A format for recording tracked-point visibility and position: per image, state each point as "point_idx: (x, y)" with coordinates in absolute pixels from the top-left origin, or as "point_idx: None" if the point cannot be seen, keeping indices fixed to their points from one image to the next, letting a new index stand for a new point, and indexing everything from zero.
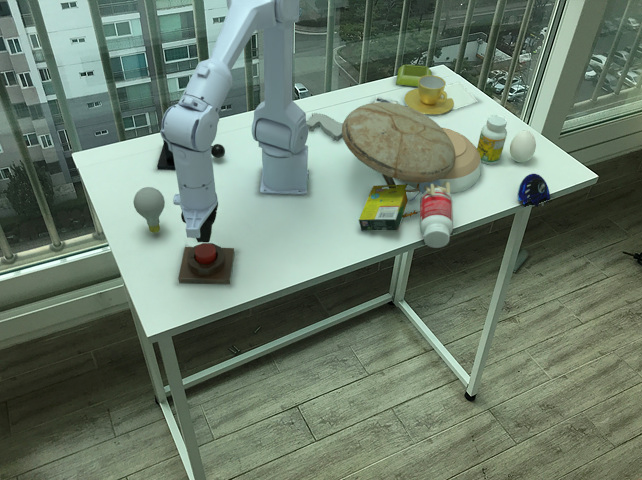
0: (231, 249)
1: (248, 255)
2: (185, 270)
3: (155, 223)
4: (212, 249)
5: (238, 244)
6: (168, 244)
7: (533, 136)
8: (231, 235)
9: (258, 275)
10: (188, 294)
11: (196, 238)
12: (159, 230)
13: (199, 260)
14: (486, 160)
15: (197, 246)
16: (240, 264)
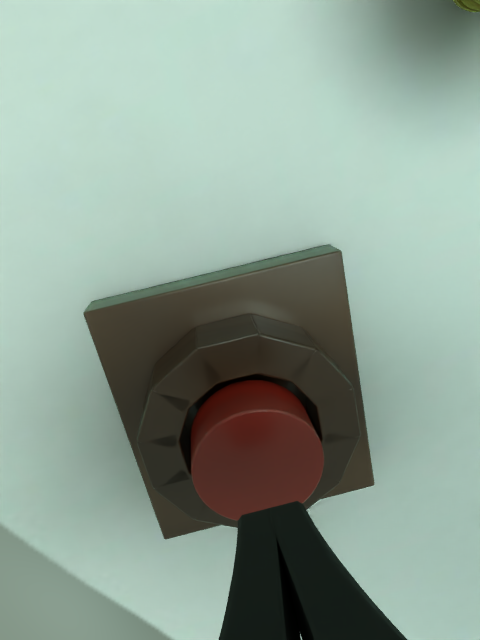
0: (362, 479)
1: (356, 519)
2: (157, 326)
3: None
4: (276, 502)
5: (417, 461)
6: (366, 119)
7: None
8: (473, 414)
9: None
10: (36, 375)
11: (238, 550)
12: (470, 11)
13: (192, 435)
14: None
15: (281, 414)
16: None
